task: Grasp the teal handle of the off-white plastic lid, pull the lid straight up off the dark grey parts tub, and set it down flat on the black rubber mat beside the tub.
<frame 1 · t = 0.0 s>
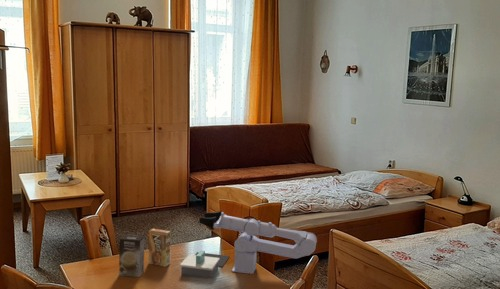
hand: (202, 217, 208), 22 cm above the table, tool horizontal, fingers open, 7 cm apart
coffee box: (131, 273, 198), on the table
tub: (200, 271, 203), on the table
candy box: (159, 264, 210), on the table
mat: (209, 259, 216), on the table
lid: (200, 263, 202), point 4 cm above the table, touching tub
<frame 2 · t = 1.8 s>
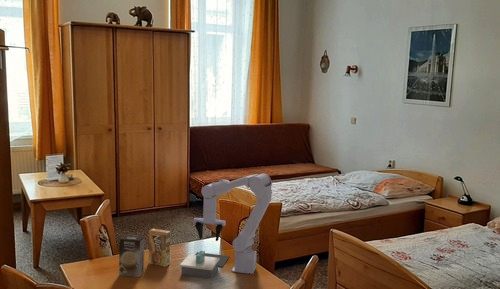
hand: (209, 239, 213), 10 cm above the table, tool pointing down, fingers open, 7 cm apart
nothing on the table moved.
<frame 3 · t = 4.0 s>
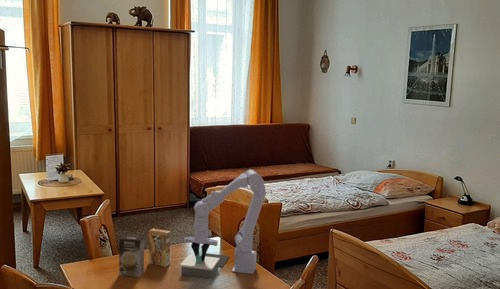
hand: (200, 259, 202), 5 cm above the table, tool pointing down, fingers closed on lid
lid: (200, 263, 202), point 4 cm above the table, touching gripper, tub
everything else where it was.
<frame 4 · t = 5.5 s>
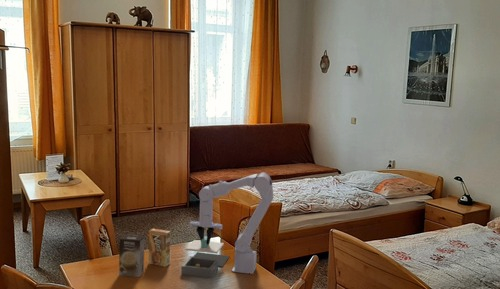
hand: (205, 243, 208), 10 cm above the table, tool pointing down, fingers closed on lid
lid: (205, 247, 208), point 9 cm above the table, touching gripper
everything else where it was.
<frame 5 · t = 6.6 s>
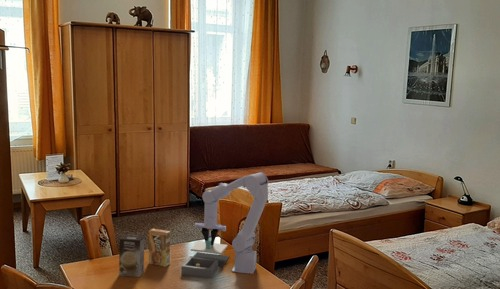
hand: (209, 244, 215), 7 cm above the table, tool pointing down, fingers closed on lid
lid: (209, 248, 215), point 6 cm above the table, touching gripper
everything else where it was.
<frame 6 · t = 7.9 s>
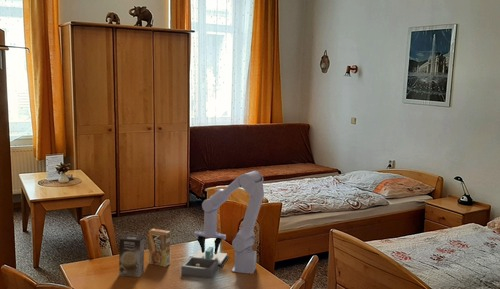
hand: (209, 252, 216), 3 cm above the table, tool pointing down, fingers open, 5 cm apart
lid: (209, 258, 216), point 1 cm above the table, touching mat
everything else where it was.
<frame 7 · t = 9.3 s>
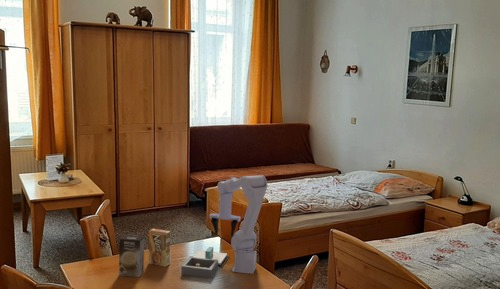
hand: (224, 234, 221), 10 cm above the table, tool pointing down, fingers open, 7 cm apart
nothing on the table moved.
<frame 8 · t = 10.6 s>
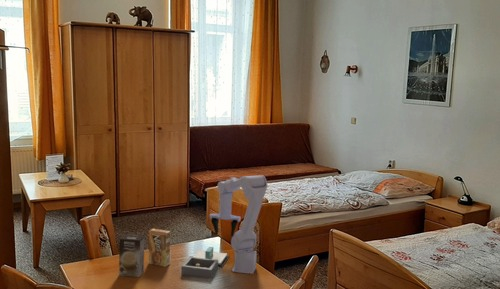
hand: (224, 234, 221), 10 cm above the table, tool pointing down, fingers open, 7 cm apart
nothing on the table moved.
at the end: lid inside the target area on the mat (0.3 cm from its centre), point 1.0 cm above the mat's base; lid tilted 0°; the gripper is holding nothing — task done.
